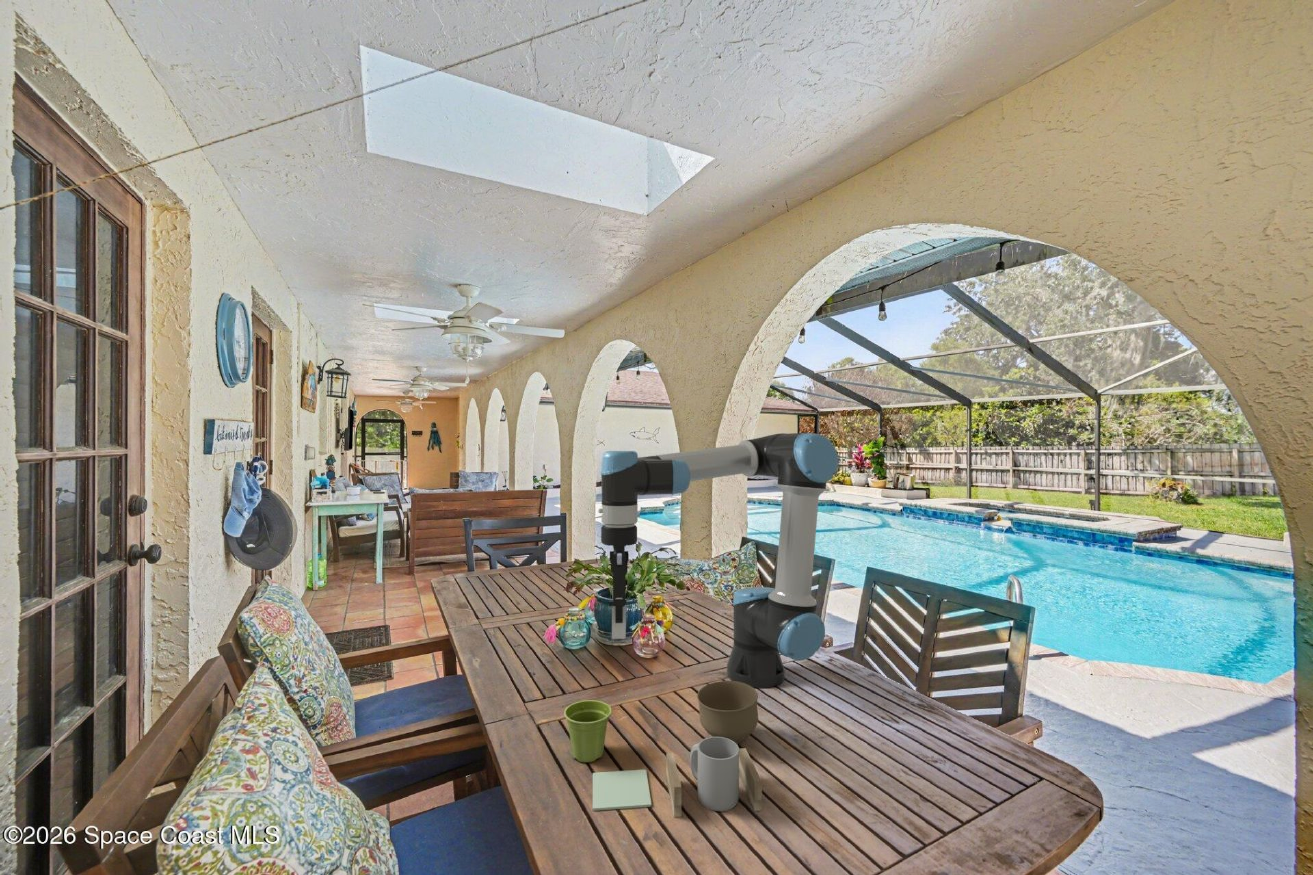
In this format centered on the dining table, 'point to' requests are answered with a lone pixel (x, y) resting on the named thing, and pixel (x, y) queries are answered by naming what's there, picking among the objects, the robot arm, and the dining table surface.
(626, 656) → the dining table surface
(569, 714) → the plant pot
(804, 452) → the robot arm
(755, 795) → the holder rails
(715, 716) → the bowl
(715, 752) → the cup
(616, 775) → the mat
